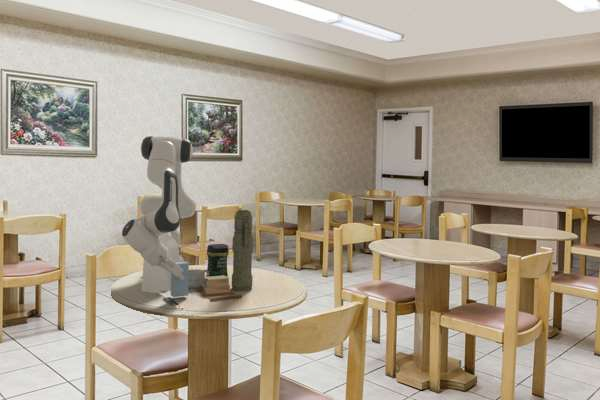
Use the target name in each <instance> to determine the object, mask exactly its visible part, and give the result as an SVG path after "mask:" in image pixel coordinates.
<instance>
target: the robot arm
mask: <svg viewBox="0 0 600 400" xmlns="http://www.w3.org/2000/svg"><path fill="white" fill-rule="evenodd" d="M140 153H141V156H142V157H143V158H144V159H145V160H147V161H148V162H147V168H146V173H147V174H146V177H147V178H148V180H149V182H151V183H152V184H154V185H155V186H158V188H160V189H161V192H162V194H153V195H147V196H144V197H143V198H142V199H141V200H140V203H139V210H140V213H141V215H142V216H140V217H138V218H135V219H130V220H129V221H128V222H127V223H126V224H125V225H124V226H123V228H122V231H121V235H122V238H123V240H124V241H125V242H126V243H127V244H128V245H129V246H130V247H131V248H132V249H133V250H134V251H135V252H137V253H139V255H140V256H141V257H142V258H143V260H144V259H145V260H146V261H147V262H148V263H149V264H150V265H151V266H154V265H156V266H160V267H161V268H163V269H165V270H166V271H168V272H169V273H171V274H173V275H174V276H176V277H179V278H180V279H181V280H183V279H184V278H185V276H184V275H183V274H182V273H183V269H182V268H181V267H180V266H179V265H178V264H177V263H175V262H174V261H173V260H172V259H171V258H169V254H168V248H167V247H166V246H165V245H164V244H162V243H161V242H160V241H159V240H158V237H159V235H162V234H164V233H168V232H170V234H171V237H172V238H173V239H174V240H175V241H176V243H177V244H178V246H179V262H184V258H183V257H182V256H181V253H182V250H181V244H180V243H181V233H180V230H179V229H178V228H179V227H180V224H181V221H182V220H181V219H186V218H190V217H193V216H194V214H195V213H196V210H197V203H196V201H195V199H194V198H193V197H192V196H190V195H189V194H188V193H187V192H186V191H185V189H184V187H183V182H182V163H183V164H185V163H188V162H190V161H191V158H192V157H193V154H194V148H193V144H192V141H191V140H189V139H186V138H179V137H173V136H153V135H151V136H149V135H148V136H145V137H144V138H143V139H142V141H141V144H140Z"/></svg>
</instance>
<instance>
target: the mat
mask: <svg viewBox="0 0 600 400" xmlns="http://www.w3.org/2000/svg"><path fill="white" fill-rule="evenodd" d="M162 299H163V301H164V302H166V303H167V304H169V305H170V306H177V305H178V306H179V305H180V304H179V303H178V302H177V301H176V300H174V299H173V298H171V297H170V296H169V297H163V298H162Z"/></svg>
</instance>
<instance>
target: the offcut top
mask: <svg viewBox="0 0 600 400" xmlns="http://www.w3.org/2000/svg"><path fill="white" fill-rule="evenodd" d="M204 285H206V286H208V287H212V286H222V285H230V277H229V276H228V277H226V276H213V277H206V276H205V277H204Z"/></svg>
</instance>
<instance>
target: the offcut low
mask: <svg viewBox="0 0 600 400" xmlns="http://www.w3.org/2000/svg"><path fill="white" fill-rule="evenodd" d="M230 286H231V284H229V285H222V286H212V287H208V286H206V285H204V284H203V287H202V288H203V292H204V293H206V294H214V293H223V292H230V291H231V287H230Z"/></svg>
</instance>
